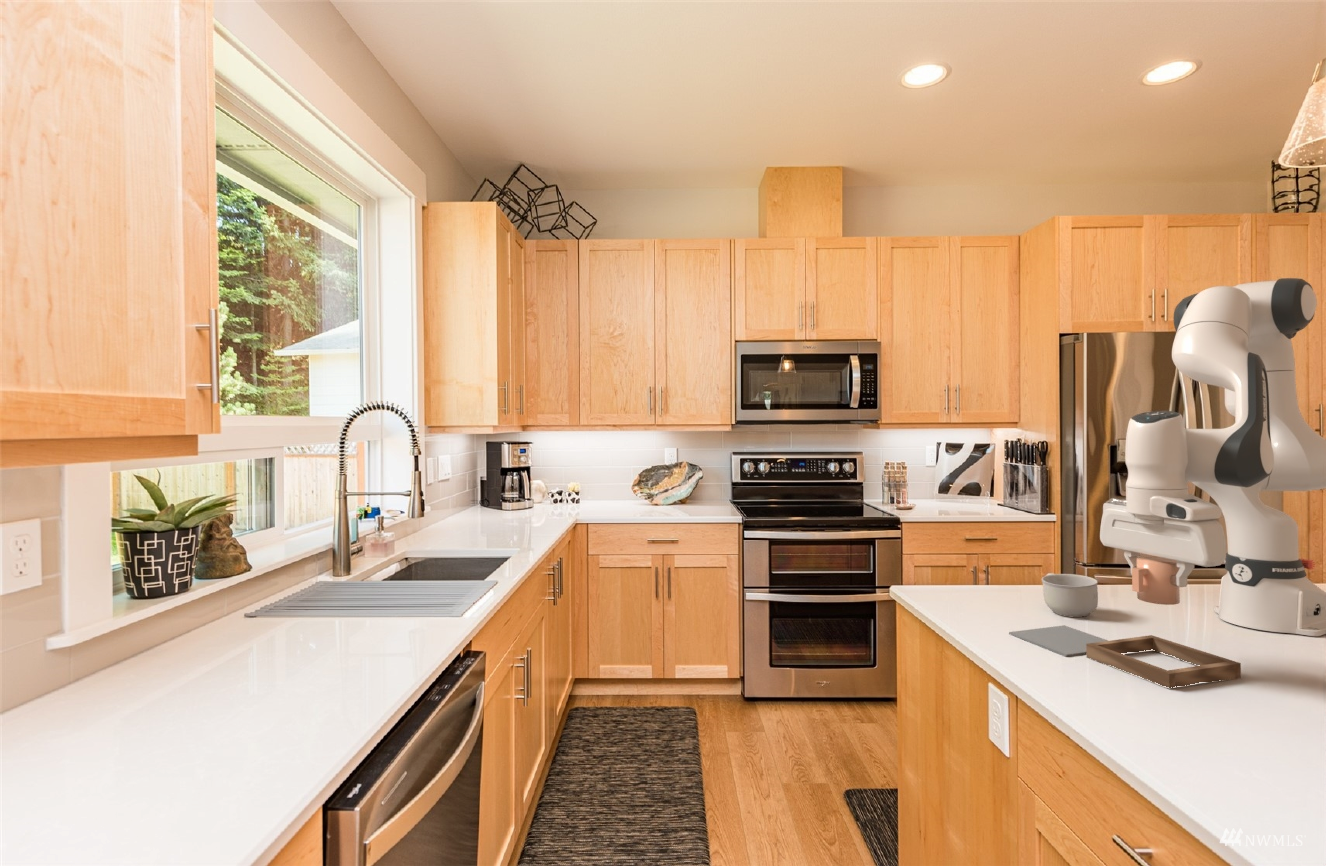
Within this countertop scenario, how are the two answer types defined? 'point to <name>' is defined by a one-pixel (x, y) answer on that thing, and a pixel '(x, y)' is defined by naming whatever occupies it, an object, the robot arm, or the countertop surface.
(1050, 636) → the coaster
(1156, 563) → the mug
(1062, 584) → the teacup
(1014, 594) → the countertop surface
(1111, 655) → the tray
